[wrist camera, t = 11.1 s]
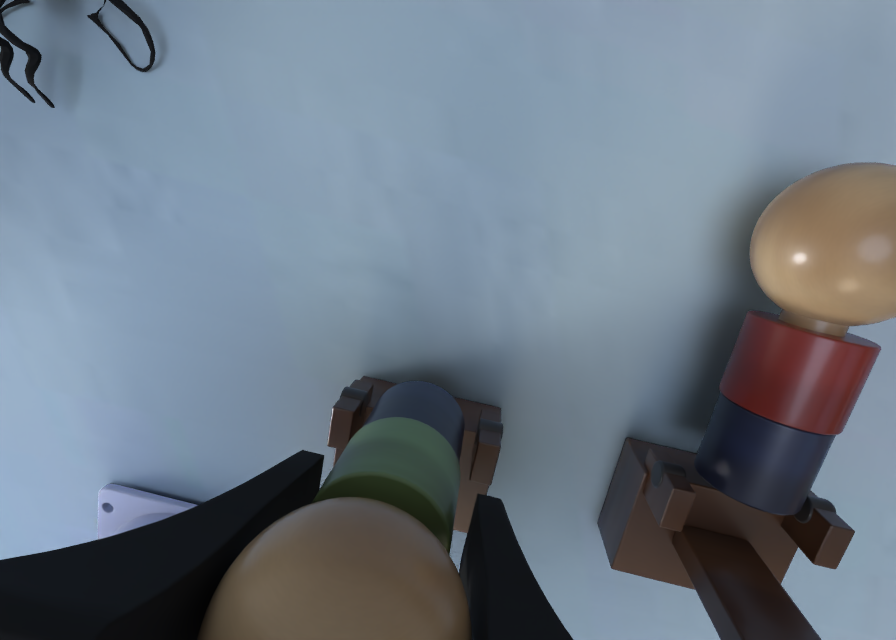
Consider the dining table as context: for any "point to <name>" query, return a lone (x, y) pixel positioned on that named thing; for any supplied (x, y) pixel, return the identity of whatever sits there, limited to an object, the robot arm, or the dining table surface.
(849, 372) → the red doll
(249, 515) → the robot arm
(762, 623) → the brown stand
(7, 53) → the creature
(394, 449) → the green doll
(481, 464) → the brown notched block
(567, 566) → the dining table surface
